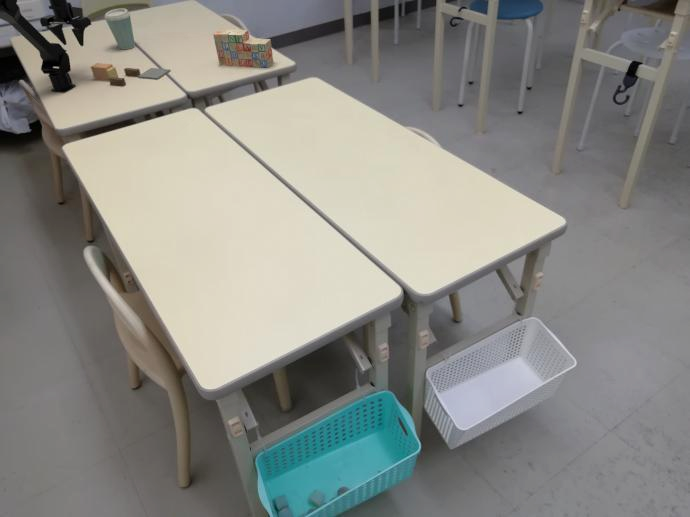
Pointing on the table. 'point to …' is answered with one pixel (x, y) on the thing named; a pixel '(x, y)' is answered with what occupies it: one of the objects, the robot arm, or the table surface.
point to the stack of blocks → (242, 49)
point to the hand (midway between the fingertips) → (73, 45)
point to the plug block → (103, 71)
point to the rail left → (117, 81)
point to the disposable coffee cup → (121, 27)
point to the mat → (154, 73)
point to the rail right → (132, 72)
